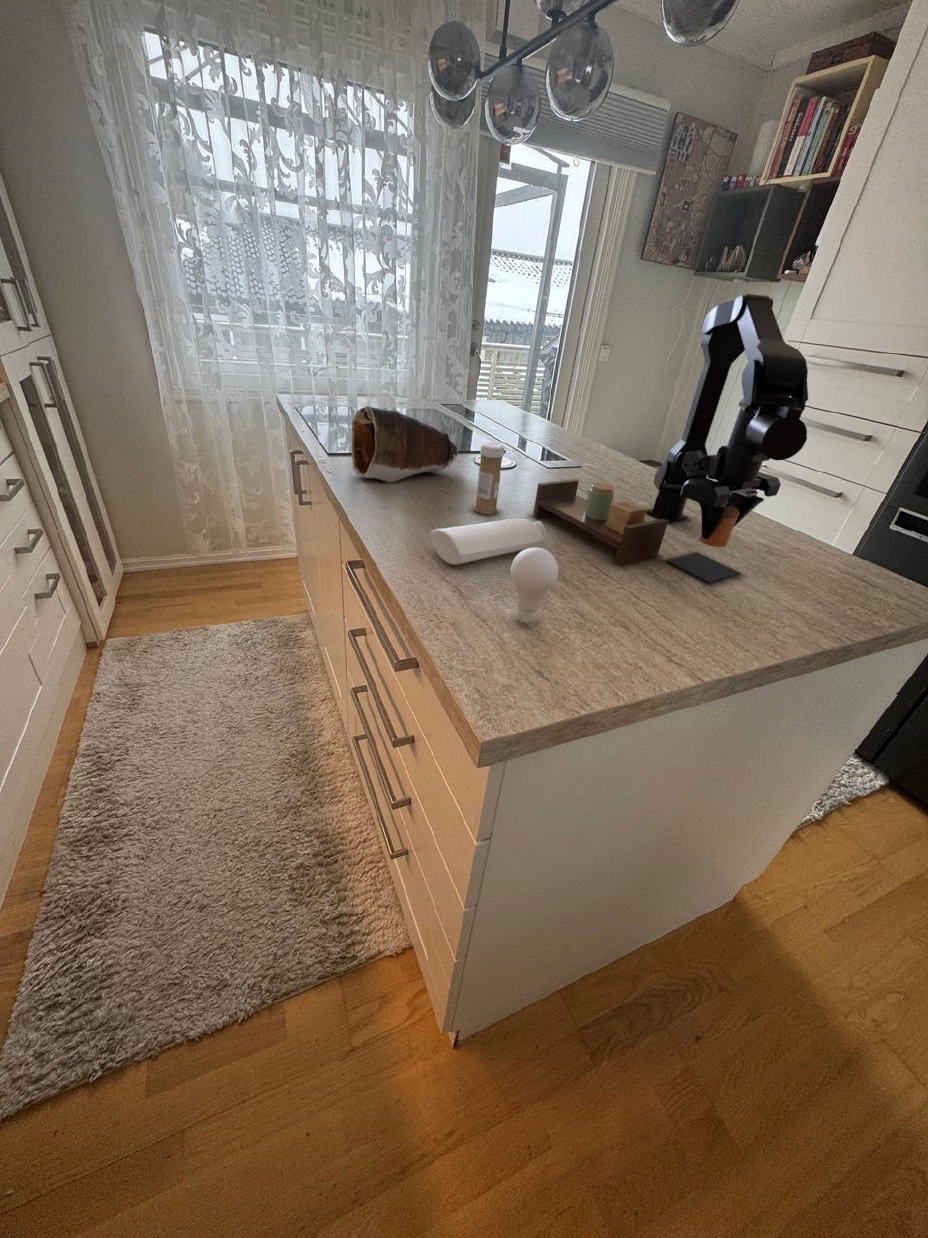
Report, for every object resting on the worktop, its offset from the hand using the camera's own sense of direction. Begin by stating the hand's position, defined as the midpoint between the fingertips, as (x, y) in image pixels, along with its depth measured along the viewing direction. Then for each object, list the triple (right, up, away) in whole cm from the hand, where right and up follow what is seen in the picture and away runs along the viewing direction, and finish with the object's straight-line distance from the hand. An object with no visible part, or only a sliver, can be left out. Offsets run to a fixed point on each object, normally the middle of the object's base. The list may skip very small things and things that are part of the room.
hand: (714, 536), depth 89 cm
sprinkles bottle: (-39, +8, +18) cm, 43 cm away
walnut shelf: (-18, +2, +12) cm, 22 cm away
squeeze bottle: (-38, -3, +2) cm, 38 cm away
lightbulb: (-35, -15, -17) cm, 41 cm away
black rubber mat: (-1, -5, +3) cm, 6 cm away
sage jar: (-18, +5, +10) cm, 21 cm away
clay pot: (-56, +20, +35) cm, 69 cm away
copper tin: (0, -1, +1) cm, 1 cm away
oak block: (-14, +2, +5) cm, 15 cm away
